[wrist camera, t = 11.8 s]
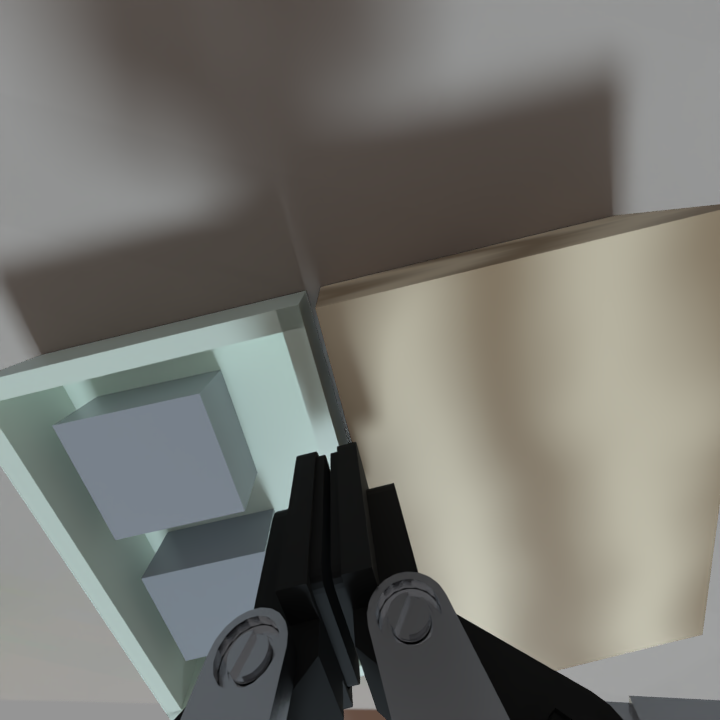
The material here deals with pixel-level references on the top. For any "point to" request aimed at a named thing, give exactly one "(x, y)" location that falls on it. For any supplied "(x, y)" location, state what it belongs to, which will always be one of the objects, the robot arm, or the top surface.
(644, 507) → the board
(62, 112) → the top surface
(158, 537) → the tray
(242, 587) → the tile
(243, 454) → the tile
